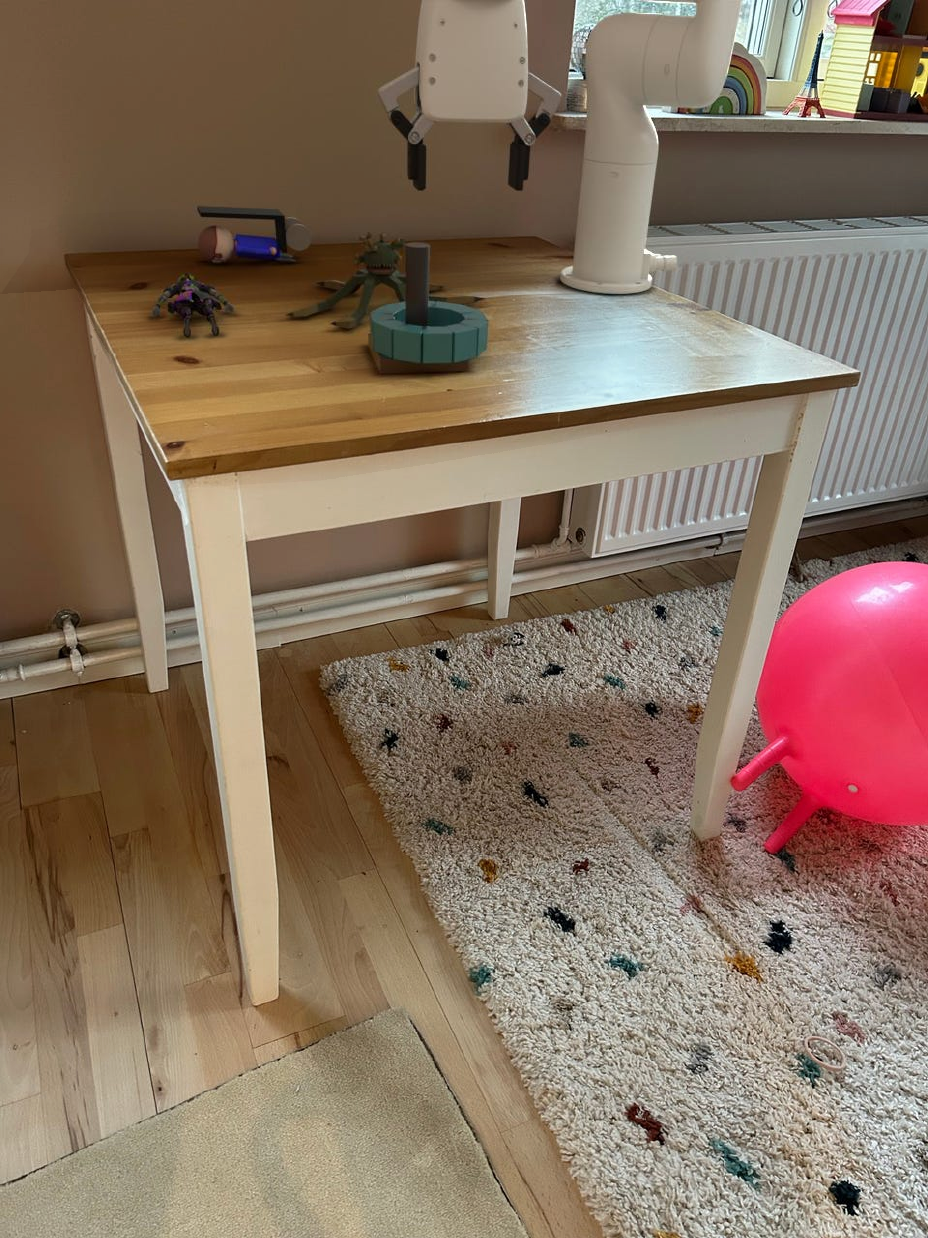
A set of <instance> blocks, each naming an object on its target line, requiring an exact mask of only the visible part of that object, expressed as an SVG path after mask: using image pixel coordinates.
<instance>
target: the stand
mask: <svg viewBox="0 0 928 1238" xmlns="http://www.w3.org/2000/svg"><path fill="white" fill-rule="evenodd" d="M405 244H406V249H405V275H406V291H405V324H410V325H416V326H423V327H428V317H429V294H430V291H429V283H430V267H431V266H430V263H431V261H430V259H431V258H430V257H431V254H430V253H431V245H430V244H429V243H426V242H417V241H415V242H408V243H405ZM367 336H368V337H367V338H368V341H367V344H368V349H369V351H370V353H371V355H372V358H373V360H374V362H375V365H376V367H377V369H378V371H379V374H380V375H392V374H394V375H395V374H396V375H397V374H423V373H424V374H426V373H451V372H453V373H455V372H468V360H464V361H459V362H455V363H454V362H451V363H423V362H421V363H415V362H409V361H403V360H396V359H394V358H389V357H387V356H385V355H382V354H380V353H378V352H376V351H374V350H373V348H372V345H371V342H370V333H368V335H367Z"/></svg>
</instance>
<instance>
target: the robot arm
mask: <svg viewBox="0 0 928 1238" xmlns="http://www.w3.org/2000/svg"><path fill="white" fill-rule="evenodd" d="M639 1H641V2H652V3H672V4H693V5H695V15H681V14H680V15H678V14H665V13H651V12H650V13H649V12H621V13H615V14H612V15H608V16H606V17H604V18H603V19H601V20H600V21H598V22H597V23H596V25H595V26H594V27H593V28H592V30H591V32H590V33H589V36H588V39H587V42H586V46H585V53H584V69H585V70H584V71H585V89H586V119H585V120H586V121H585V133H584V134H585V135H584V147H583V158H582V166H581V167H582V168H581V169H582V170H581V179H580V189H579V200H578V210H577V217H576V218H577V221H576V230H575V240H574V250H573V260H572V265H571V266H567V267H564V268H563V269H561V271H560V277H559V279H560V282H561V283H563V284H564V285H565V286H567V287H570V288H572V289H577V290H581V291H585V292H590V293H598V294H608V295H609V294H610V295H628V294H638V293H642V292H646V291H647V290H649V289H651V287H652V285H653V277H652V276H651V275H650V274H654V273H655V271H662V272H666V271H667V272H675V271H676V270H677V266H678V258H677V256H676V255H661V254H660V253H652V252H651V251H649V250H647V249H646V244H647V237H648V230H649V221H650V215H651V207H652V201H653V193H654V186H655V179H656V173H657V165H658V158H659V157H658V156H659V146H660V145H659V136H658V133H657V130H656V127H655V125H654V122H653V121H652V119H651V116H650V115H649V112H648V110H647V108H646V106H659V107H668V108H669V107H672V108H682V109H703V108H706V107H710V106H711V105H712V104H713V103H715V102H716V101H717V99H718V98H719V97H720V95H721V93H722V91H723V89H724V86H725V82H726V80H727V77H728V73H729V68H730V64H731V60H732V54H733V50H734V45H735V39H736V34H737V29H738V25H739V19H740V15H741V10H742V5H743V1H744V0H638V2H639ZM527 27H528V26H527V16H526V7H525V0H421V4H420V9H419V16H418V24H417V33H416V47H415V59H414V60H415V61H414V67H413V68H411V69H410V70H408V71H406V72H405V73H403V74H401V75H400V76H398V77H395V78H394V79H392V80H390V81H389V82H387V83H385V84H383V85H382V86H380V87H379V88H378V90H377V95H378V98H379V100H380V102H381V105H382V106H383V109H384V110H385V113H386V115H387V117H388V120H389V122H390V123H391V124H392V125H393V126H394V127H395V129H396V130H397V131H398V132H399V133H400V134H401V135H402V136H403V138H404V139H405V140H406V142H407V144H406V145H407V146H406V147H407V148H406V149H407V150H406V151H407V154H406V157H407V159H406V160H407V161H406V164H407V165H406V167H407V168H406V169H407V171H406V174H407V179H408V181H412V186H413V188H414V189H415V190H416V191H420V192H424V191H425V190H426V188H427V146H426V145H425V144H424V136H426V134H427V133H428V131H429V130H430V129H431V127H432V126H433V125H434V124H435V122H439V123H464V124H465V123H469V124H471V123H473V124H475V123H476V124H506V125H507V127H508V128H509V130H510V131H511V133H512V135H514V136H513V137H514V138H513V140H512V141H511V143H510V144H509V159H508V175H507V176H508V177H507V185H508V186H509V187H510V188H511V189H513V190H515V191H517V192H522V191H523V190H524V181H528V180H529V175H530V160H531V146H532V145H534V144H535V143H536V139H538V137H539V136H540V135H541V134H542V133H543V132H544V131H545V130H546V129H547V128H548V126H550V123H551V120H552V118H553V116H554V114H555V113H556V110H557V109H558V107H559V105H560V103H561V101H562V99H563V98H562V97H563V96H562V93H561V92H560V91H558V90H556V89H555V88H554V87H552V85H551V86H550V85H549V84H547V82H544V81H543V80H542V79H540V78H539V77H537V76H536V75H534V74H533V73H531V72H530V71H529V53H528V52H529V51H528V50H529V49H528V46H529V45H528V31H527V30H528V29H527ZM412 89H413V103H414V108H415V110H416V113H415V115H414V116H413V117H412V118H411V120H409V119H408V118H407V117H406V116H405V114H404V113H403V112H402V110H401V107H400V105H399V102H398V101H399V100H398V99H399V97H400V96H402V95H403V94H405V93H407V92H408V91H410V90H412ZM528 91H529V92H531V93H532V94H534V96H536V97H538V98H539V99H540V105H539V107H538V110H537V112H536V113H535V114H534V115H533V116H532V117H531V118H530V119H529V120H528V121H527V120H526V119H525V117H524V116H525V114H526V110H527V105H528V104H527V103H528Z"/></svg>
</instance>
